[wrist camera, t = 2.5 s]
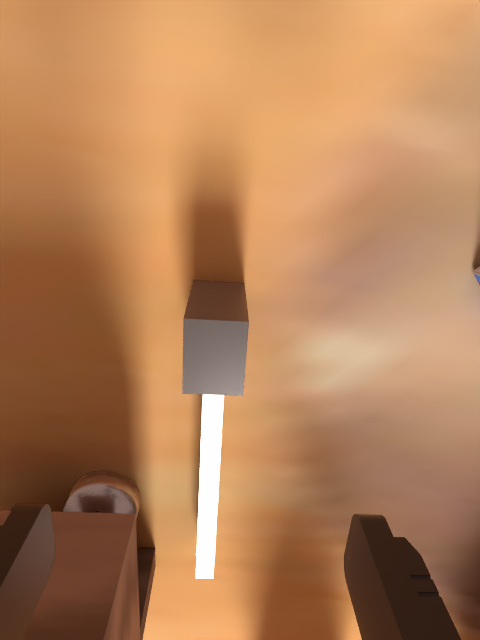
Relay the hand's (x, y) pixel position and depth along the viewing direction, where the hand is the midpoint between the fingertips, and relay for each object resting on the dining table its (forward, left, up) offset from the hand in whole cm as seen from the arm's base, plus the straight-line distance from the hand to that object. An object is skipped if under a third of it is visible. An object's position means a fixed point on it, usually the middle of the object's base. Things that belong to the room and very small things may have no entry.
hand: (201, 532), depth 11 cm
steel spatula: (+8, 0, -16) cm, 18 cm away
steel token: (+15, -7, -16) cm, 23 cm away
